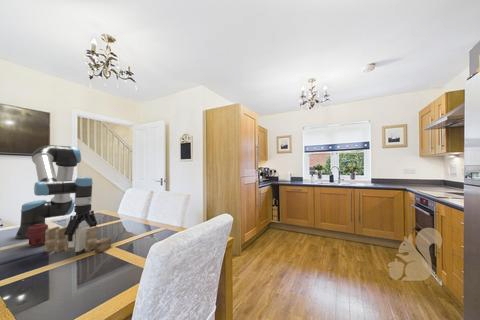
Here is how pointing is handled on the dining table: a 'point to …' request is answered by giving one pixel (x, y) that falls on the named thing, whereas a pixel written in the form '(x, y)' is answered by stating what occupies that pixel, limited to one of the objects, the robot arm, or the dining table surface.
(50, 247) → the domino
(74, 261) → the dining table surface
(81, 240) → the domino
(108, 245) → the stop block
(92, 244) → the domino
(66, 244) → the domino
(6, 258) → the dining table surface
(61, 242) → the domino
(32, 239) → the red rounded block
